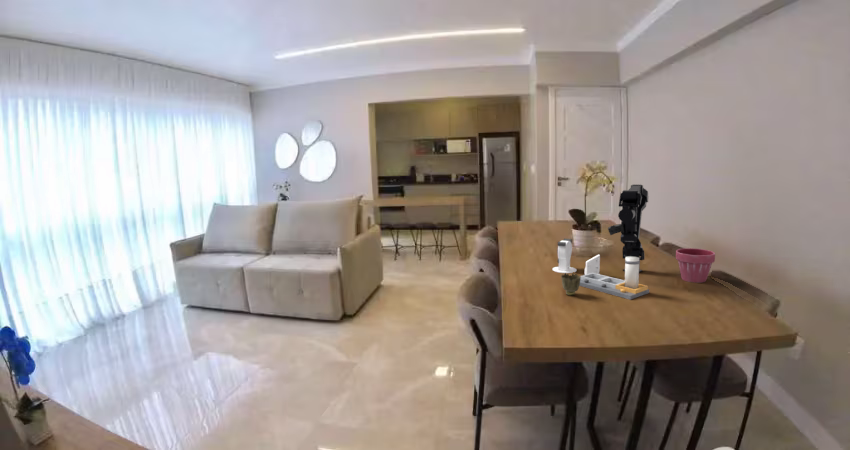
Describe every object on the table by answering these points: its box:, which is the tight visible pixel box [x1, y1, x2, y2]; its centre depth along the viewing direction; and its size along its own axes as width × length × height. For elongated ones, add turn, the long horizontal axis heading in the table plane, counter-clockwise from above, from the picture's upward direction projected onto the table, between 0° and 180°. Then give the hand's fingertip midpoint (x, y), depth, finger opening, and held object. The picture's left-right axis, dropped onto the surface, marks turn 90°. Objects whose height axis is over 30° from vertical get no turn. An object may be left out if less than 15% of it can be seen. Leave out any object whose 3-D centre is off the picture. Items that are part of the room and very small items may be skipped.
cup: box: [560, 273, 582, 296], centre depth 167 cm, size 8×7×8 cm
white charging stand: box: [552, 238, 577, 274], centre depth 203 cm, size 12×11×15 cm
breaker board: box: [579, 273, 650, 301], centre depth 173 cm, size 13×26×3 cm, turn 32°
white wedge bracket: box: [583, 254, 601, 275], centre depth 193 cm, size 4×10×9 cm, turn 84°
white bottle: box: [624, 257, 640, 289], centre depth 166 cm, size 5×5×13 cm
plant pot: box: [675, 247, 716, 284], centre depth 180 cm, size 14×14×13 cm
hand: (628, 253), depth 183 cm, fingers open, 9 cm apart
